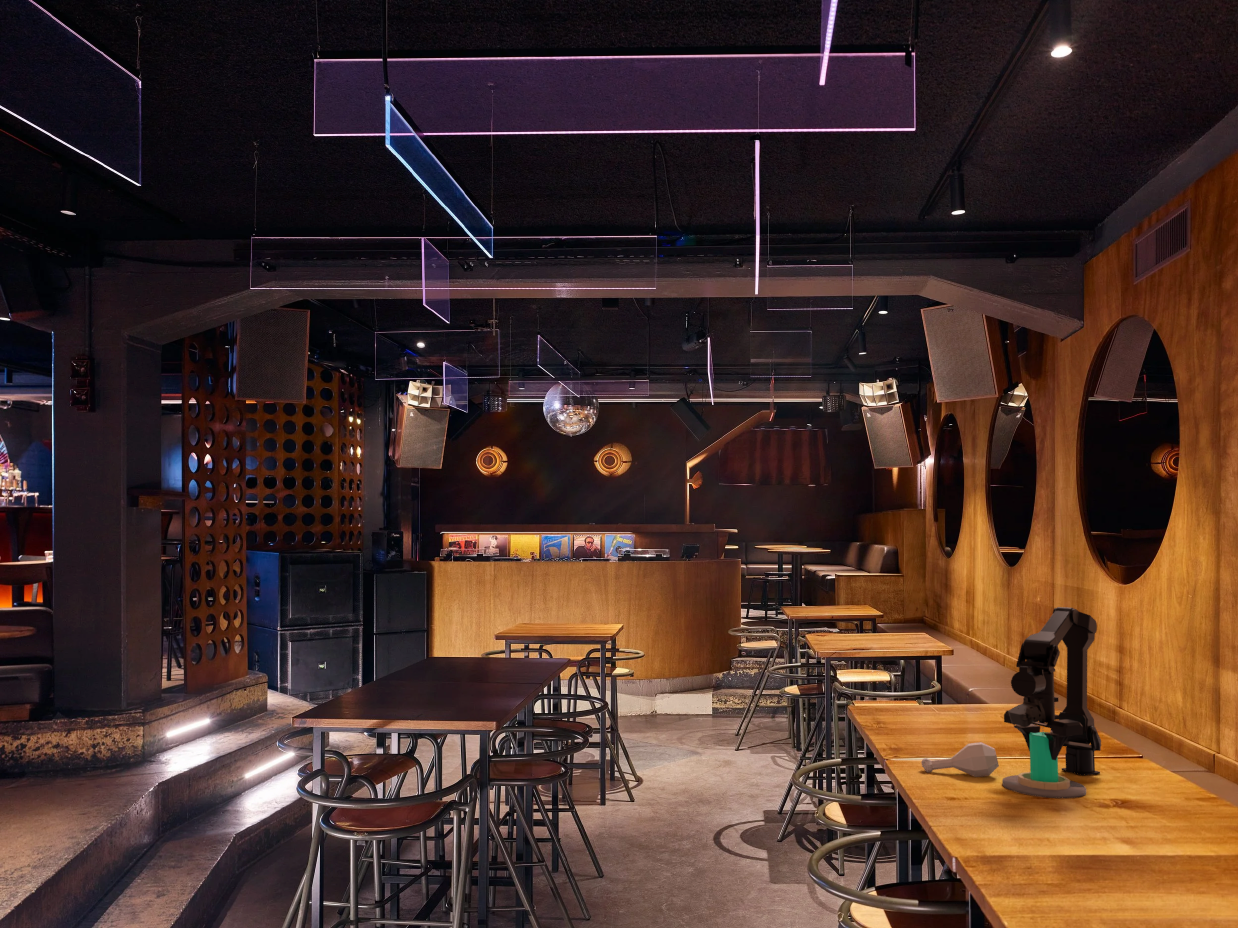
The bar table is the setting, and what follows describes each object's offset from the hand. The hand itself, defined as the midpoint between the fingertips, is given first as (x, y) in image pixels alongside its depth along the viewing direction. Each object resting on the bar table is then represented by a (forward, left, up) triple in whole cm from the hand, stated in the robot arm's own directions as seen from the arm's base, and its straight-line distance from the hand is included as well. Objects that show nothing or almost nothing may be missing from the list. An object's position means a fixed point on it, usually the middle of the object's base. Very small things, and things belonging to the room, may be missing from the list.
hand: (1043, 759), depth 223 cm
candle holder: (0, 0, -7) cm, 7 cm away
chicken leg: (+9, -18, -7) cm, 21 cm away
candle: (0, 0, -5) cm, 5 cm away
